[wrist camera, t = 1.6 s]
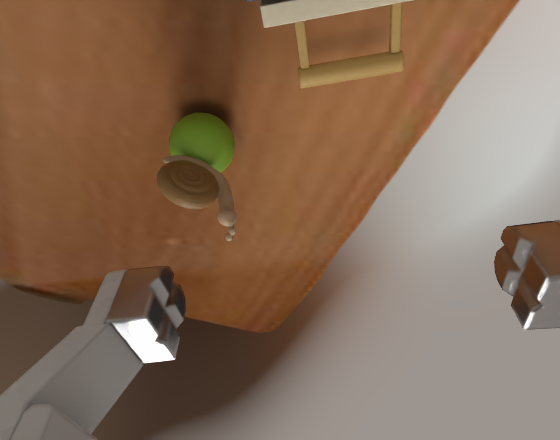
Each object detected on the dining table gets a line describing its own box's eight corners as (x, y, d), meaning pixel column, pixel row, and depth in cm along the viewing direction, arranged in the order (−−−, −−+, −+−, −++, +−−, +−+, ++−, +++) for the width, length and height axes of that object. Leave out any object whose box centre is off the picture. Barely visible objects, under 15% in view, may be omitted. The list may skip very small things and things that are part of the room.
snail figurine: (234, 166, 37) (220, 260, 28) (168, 141, 35) (132, 234, 27) (256, 121, 34) (249, 211, 25) (185, 90, 32) (151, 177, 23)
